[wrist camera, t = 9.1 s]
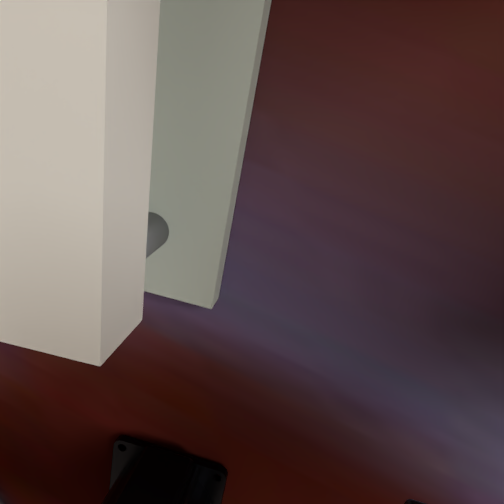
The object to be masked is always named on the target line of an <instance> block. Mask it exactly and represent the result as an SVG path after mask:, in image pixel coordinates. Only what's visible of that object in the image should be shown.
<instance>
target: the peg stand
mask: <svg viewBox="0 0 504 504" xmlns="http://www.w3.org/2000/svg"><path fill="white" fill-rule="evenodd" d="M271 1H272V0H160V17H159V34H158V52H157V70H156V87H155V105H154V122H153V140H152V158H151V175H150V193H149V211H148V228H147V246H146V263H145V281H144V291H146V292H150V293H153V294H157V295H161V296H165V297H168V298H172V299H176V300H179V301H183V302H187V303H191V304H194V305H198V306H202V307H205V308H209V309H212V308H213V306H214V304H215V303H216V301H217V300H218V298H219V293H220V287H221V282H222V276H223V270H224V265H225V259H226V254H227V248H228V242H229V237H230V231H231V225H232V220H233V214H234V209H235V203H236V197H237V192H238V186H239V181H240V175H241V169H242V164H243V158H244V152H245V147H246V141H247V136H248V130H249V124H250V119H251V113H252V107H253V102H254V96H255V91H256V85H257V79H258V74H259V68H260V62H261V57H262V51H263V46H264V40H265V34H266V29H267V23H268V17H269V12H270V6H271Z"/></svg>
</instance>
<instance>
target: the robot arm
mask: <svg viewBox="0 0 504 504" xmlns="http://www.w3.org/2000/svg"><path fill="white" fill-rule="evenodd" d="M124 445H125V446H124ZM216 474H218V475H220V476H218V475H216ZM227 476H228V472H227V470H226V469H225V468H224V467H223V466H221V465H218V464H215V463H212V462H208V461H205V460H202V459H199V458H196V457H192V456H189V455H186V454H183V453H180V452H176V451H173V450H170V449H167V448H164V447H160V446H157V445H154V444H151V443H148V442H144V441H141V440H138V439H135V438H132V437H128V436H124V435H122V436H119V437H118V438H117V440H116V441H115V443H114V447H113V458H112V469H111V479H110V490H109V492H108V494H107V496H106V497H105V499H104V501H103V502H102V504H221V503H222V498H223V494H224V489H225V485H226V480H227ZM404 504H426V503H422V502H419V501H416V500H413V499H408V500H406V501H405V503H404Z"/></svg>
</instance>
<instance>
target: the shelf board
mask: <svg viewBox="0 0 504 504" xmlns="http://www.w3.org/2000/svg"><path fill="white" fill-rule="evenodd" d="M159 17H160V0H0V342H4V343H8V344H12V345H16V346H20V347H24V348H28V349H32V350H36V351H40V352H44V353H48V354H52V355H56V356H60V357H64V358H68V359H72V360H76V361H80V362H84V363H88V364H92V365H96V366H101V365H102V364H103V363H104V362H105V361H106V359H107V358H108V357H109V356H110V355H111V354H112V353H113V352H114V351H115V350H116V348H117V347H118V346H119V345H120V344H121V343H122V342H123V341H124V340H125V339H126V337H127V336H128V335H129V334H130V333H131V332H132V331H133V330H134V329H135V327H136V326H137V325H138V324H139V323H140V322H141V321H142V316H143V299H144V281H145V263H146V246H147V228H148V211H149V193H150V175H151V158H152V140H153V122H154V105H155V87H156V70H157V52H158V34H159Z"/></svg>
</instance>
